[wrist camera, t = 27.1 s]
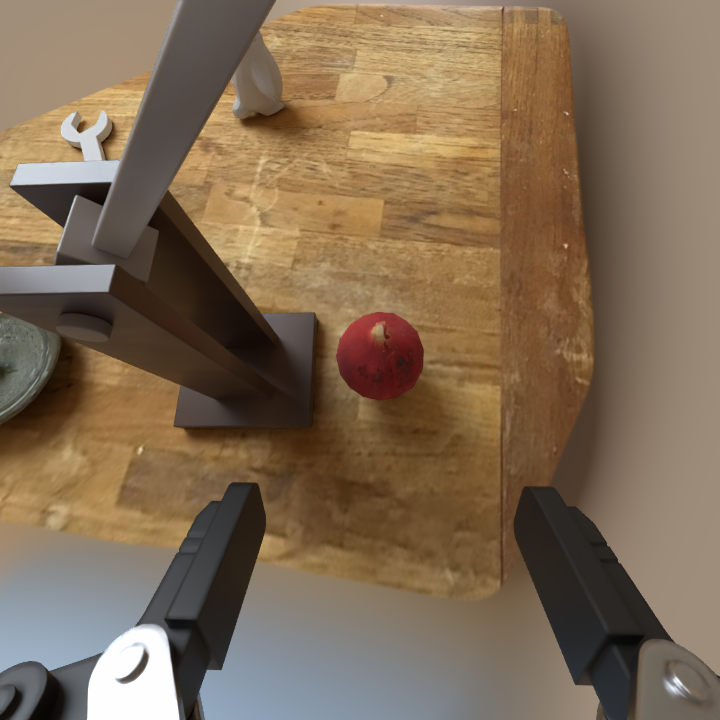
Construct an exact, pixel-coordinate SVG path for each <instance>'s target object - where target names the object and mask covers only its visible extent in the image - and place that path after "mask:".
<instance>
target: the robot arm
mask: <svg viewBox="0 0 720 720" xmlns="http://www.w3.org/2000/svg"><path fill="white" fill-rule="evenodd" d="M265 527H266V515H265V510H264V506H263V502H262V497H261V493H260V489H259V485H258V484H257V483H240V482H233V483H231V484H230V485H229V486H228V488H227V490H226V492H225V494H224V496H223V498H222V500H221V501H211V502H210V503H209V504H208V505H207V506H206V507H205V508H204V509H203V510H202V511H201V512H200V513H199V514H198V515H197V517H196V519H195V520H194V522H193V524H192V526H191V528H190V530H189V531H188V533H187V537H186V538H185V539H184V541H183V543H182V544H181V546H180V548H179V552H178V553H177V554H176V555H175V557H174V559H173V561H172V563H171V565H170V566H169V568H168V570H167V572H166V574H165V576H164V578H163V579H162V581H161V583H160V585H159V587H158V589H157V591H156V592H155V594H154V596H153V598H152V600H151V601H150V603H149V605H148V607H147V609H146V611H145V613H144V614H143V616H142V617H141V619H140V620H139V622H138V623H137V624H136V626H135V627H134V628H132V629H130V630H128V631H127V632H126V633H124V634H122V635H121V636H120V637H119V638H117V639H116V640H115V641H114V642H113V643H112V644H111V645H110V646H109V647H108V648H107V650H106V651H104V652H102V653H100V654H97V655H95V656H92V657H89V658H87V659H84V660H81V661H78V662H75V663H72V664H69V665H66V666H63V667H60V668H57V669H54V670H51V671H48V670H47V669H46V668H45V667H44V666H43V665H42V664H41V663H38V662H34V661H28V662H23V663H20V664H17V665H15V666H12V667H10V668H8V669H7V670H5V671H3V672H1V673H0V720H205V718H204V713H203V707H202V703H201V697H200V693H199V690H200V688H201V685H202V682H203V679H204V676H205V673H206V670H222V667H223V663H224V660H225V657H226V654H227V651H228V648H229V644H230V641H231V638H232V635H233V632H234V629H235V625H236V622H237V619H238V616H239V613H240V610H241V607H242V603H243V600H244V597H245V594H246V591H247V588H248V584H249V581H250V578H251V575H252V572H253V569H254V565H255V563H256V559H257V556H258V553H259V550H260V547H261V544H262V540H263V537H264V533H265ZM514 533H515V538H516V541H517V544H518V546H519V549H520V551H521V554H522V556H523V559H524V561H525V563H526V566H527V568H528V571H529V573H530V576H531V578H532V581H533V583H534V585H535V588H536V590H537V593H538V595H539V598H540V600H541V603H542V605H543V607H544V610H545V612H546V615H547V617H548V620H549V622H550V624H551V627H552V629H553V632H554V634H555V637H556V639H557V642H558V644H559V646H560V649H561V651H562V654H563V656H564V659H565V661H566V664H567V666H568V668H569V671H570V673H571V676H572V678H573V681H574V683H575V685H592V686H593V687H594V689H595V691H596V694H597V696H598V698H599V700H600V703H599V705H598V710H597V718H596V720H720V676H718V675H716V674H715V673H714V672H713V671H712V670H711V669H710V668H709V667H708V666H707V665H706V664H705V663H704V662H703V661H702V660H701V659H699V658H698V657H697V656H695V655H694V654H693V653H691V652H690V651H688V650H687V649H685V648H684V647H682V646H680V645H678V644H676V643H675V642H674V641H673V640H672V639H671V637H670V636H669V635H668V633H667V632H666V631H665V629H664V628H663V626H662V625H661V624H660V622H659V620H658V619H657V617H656V616H655V614H654V613H653V611H652V610H651V608H650V607H649V605H648V604H647V602H646V601H645V599H644V598H643V596H642V595H641V593H640V592H639V590H638V589H637V587H636V586H635V584H634V583H633V581H632V580H631V578H630V577H629V575H628V574H627V572H626V571H625V569H624V568H623V566H622V565H621V564H620V563H618V559H617V557H616V556H615V554H614V553H613V551H612V550H611V548H610V547H608V546H607V542H606V541H605V539H604V538H603V536H602V535H601V533H600V532H599V530H598V529H597V527H596V526H595V524H594V523H593V522H592V521H591V520H590V519H589V518H588V517H586V516H585V515H584V514H583V513H582V512H581V511H580V510H579V509H578V508H576V507H567V506H566V504H565V503H564V501H563V499H562V498H561V496H560V495H559V493H558V492H557V490H556V489H555V488H553V487H538V486H526V487H524V488H523V490H522V493H521V496H520V500H519V504H518V507H517V511H516V514H515V518H514Z"/></svg>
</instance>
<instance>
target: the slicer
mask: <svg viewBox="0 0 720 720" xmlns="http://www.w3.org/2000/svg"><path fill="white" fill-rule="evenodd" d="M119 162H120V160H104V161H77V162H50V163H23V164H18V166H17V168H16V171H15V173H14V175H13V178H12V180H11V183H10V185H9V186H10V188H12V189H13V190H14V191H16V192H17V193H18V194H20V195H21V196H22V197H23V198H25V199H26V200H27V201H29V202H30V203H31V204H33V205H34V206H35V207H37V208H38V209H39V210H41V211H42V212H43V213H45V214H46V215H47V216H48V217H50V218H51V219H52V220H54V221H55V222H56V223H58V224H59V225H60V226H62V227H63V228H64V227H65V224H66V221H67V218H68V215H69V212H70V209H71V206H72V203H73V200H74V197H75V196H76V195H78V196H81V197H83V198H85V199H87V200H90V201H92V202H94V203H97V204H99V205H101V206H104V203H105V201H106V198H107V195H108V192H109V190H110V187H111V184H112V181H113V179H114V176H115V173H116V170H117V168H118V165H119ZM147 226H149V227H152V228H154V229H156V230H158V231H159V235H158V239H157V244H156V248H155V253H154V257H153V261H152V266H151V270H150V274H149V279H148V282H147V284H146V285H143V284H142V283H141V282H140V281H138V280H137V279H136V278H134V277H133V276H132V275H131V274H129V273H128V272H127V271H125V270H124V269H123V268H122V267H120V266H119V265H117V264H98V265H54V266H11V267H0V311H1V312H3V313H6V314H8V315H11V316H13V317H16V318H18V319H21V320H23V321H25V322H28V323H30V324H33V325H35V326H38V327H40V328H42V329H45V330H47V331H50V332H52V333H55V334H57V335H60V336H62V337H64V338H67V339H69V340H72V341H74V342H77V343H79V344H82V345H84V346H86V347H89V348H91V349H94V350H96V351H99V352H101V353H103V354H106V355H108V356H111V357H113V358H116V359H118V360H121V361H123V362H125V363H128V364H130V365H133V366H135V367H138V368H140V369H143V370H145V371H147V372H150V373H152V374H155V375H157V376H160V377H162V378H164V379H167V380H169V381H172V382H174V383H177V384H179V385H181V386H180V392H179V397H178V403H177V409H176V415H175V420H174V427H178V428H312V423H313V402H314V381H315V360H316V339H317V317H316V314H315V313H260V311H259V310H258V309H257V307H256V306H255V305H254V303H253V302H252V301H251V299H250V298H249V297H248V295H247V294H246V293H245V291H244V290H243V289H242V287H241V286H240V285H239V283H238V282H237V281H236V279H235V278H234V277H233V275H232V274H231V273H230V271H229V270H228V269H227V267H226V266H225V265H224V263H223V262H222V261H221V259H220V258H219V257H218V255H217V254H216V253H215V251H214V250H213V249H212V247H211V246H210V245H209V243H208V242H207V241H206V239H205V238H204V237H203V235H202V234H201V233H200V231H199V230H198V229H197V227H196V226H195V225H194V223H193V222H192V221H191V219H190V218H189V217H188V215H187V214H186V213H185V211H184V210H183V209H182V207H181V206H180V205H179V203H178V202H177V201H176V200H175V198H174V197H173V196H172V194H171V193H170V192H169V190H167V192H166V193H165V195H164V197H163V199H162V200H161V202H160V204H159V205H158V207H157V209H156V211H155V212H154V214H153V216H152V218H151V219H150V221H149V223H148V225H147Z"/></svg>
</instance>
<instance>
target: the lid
mask: <svg viewBox="0 0 720 720" xmlns="http://www.w3.org/2000/svg"><path fill="white" fill-rule="evenodd" d="M61 344H62V340H61V336H60V335H57V334H55V333H52V332H50V331H47V330H45V329H42V328H40V327H38V326H35V325H33V324H30V323H28V322H25V321H23V320H21V319H18V318H16V317H13V316H11V315H8V314H6V313H3V312H2V313H0V424H3V423H4V422H6V421H7V420H9V419H11V418H12V417H14V416H15V415H17V414H18V413H20V412H21V411H22V410H23V409H24V408H25V407H26V406H27V405H28V404H30V403H31V402H32V401H33V400H34V399H35V398H36V397H37V395H38V394H39V393H40V391H41V390H42V389H43V388H44V387H45V385H46V383H47V382H48V380H49V378H50V377H51V375H52V373H53V371H54V369H55V366H56V364H57V361H58V358H59V353H60V349H61Z"/></svg>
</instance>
